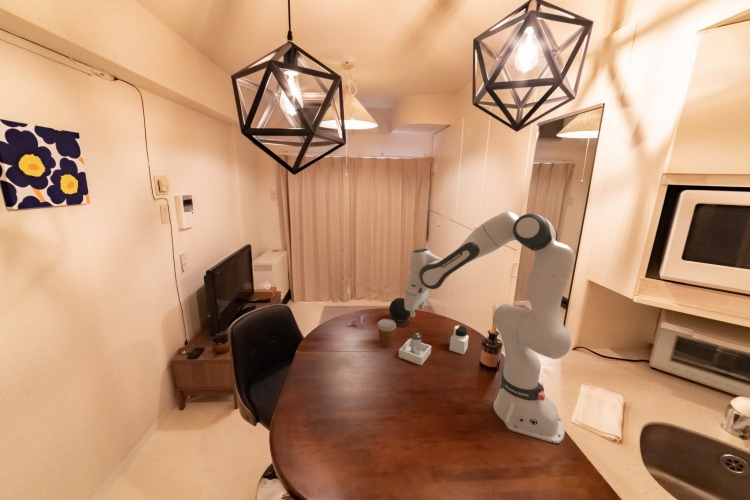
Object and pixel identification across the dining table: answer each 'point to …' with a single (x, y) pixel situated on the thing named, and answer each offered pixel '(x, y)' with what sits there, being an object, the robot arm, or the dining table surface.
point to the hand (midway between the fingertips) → (416, 312)
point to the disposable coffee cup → (386, 332)
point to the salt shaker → (416, 343)
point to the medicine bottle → (459, 340)
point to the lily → (359, 318)
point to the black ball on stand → (399, 312)
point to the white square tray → (418, 359)
